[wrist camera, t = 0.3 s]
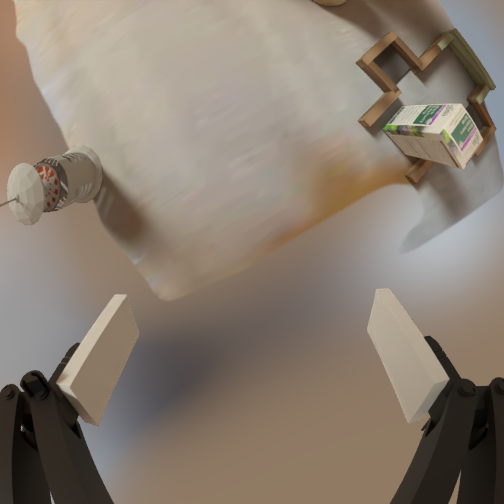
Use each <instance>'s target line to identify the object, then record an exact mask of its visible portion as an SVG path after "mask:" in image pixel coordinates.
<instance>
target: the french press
mask: <svg viewBox="0 0 504 504" xmlns="http://www.w3.org/2000/svg"><path fill="white" fill-rule="evenodd" d="M61 156H62V157H61ZM49 158H50V159H52V158H53V159H52V160H51V161H50V163H48V161H49V160H50V159H48V158H45V159H43V160H42V161H41V162H39V163H37V164H36V165H35V166H34V167H33V166H31V165H29V164H27V163H22V164H18V165H17V166H16V167H15V168H14V169H13V170H12V172H11V174H10V177H9V180H8V186H7V196H8V201H7V202H5V203H3V204H1V205H0V207H1V206H3V205H5V204H7V203H9V206H10V209H11V211H12V213H13V214H14V216H15V217H16V218H17V219H18V221H19V222H21V223H23V224H24V225H33V224H35V223H36V222H37V221H39V219H40V217H41V215H42V213H43V212H50V211H58V210H60V209H62V208H63V207H66V205H70V204H69V203H71V204H72V203H74V202H77V203H86V202H88V201H90V200H91V199H93V198H94V197H95V196H96V194H97V193H98V192H99V190H100V187H101V183H102V180H103V174H102V165H101V163H100V160H99V157H98V156H97V154H96V153H95V152H94V151H93V150H92V149H91V148H88V147H86V146H83V145H81V146H75V147H73V148H71V149H70V150H69V151H67V152H66V154H64V155H59V156H54V157H49ZM47 159H48V160H47ZM54 159H55V162H54V163H53V166H52V165H51V164H52V162H53V160H54ZM45 160H47V161H46V162H44V161H45ZM57 161H58V165H57V166H56V162H57ZM55 166H56V167H55ZM62 197H65V198H66V201H65V200H64V199H63V198H62ZM60 199H61V201H63V202H64V204H62V203H60V202H59V200H60ZM73 201H74V202H73ZM57 204H59V205H62V207H59V206H57ZM55 208H60V209H55Z"/></svg>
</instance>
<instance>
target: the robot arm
mask: <svg viewBox="0 0 504 504" xmlns="http://www.w3.org/2000/svg"><path fill="white" fill-rule="evenodd" d="M367 331H368V333H369V335H370V337H371V339H372V341H373V344H374V346H375V348H376V350H377V352H378V354H379V356H380V359H381V361H382V363H383V365H384V367H385V370H386V372H387V374H388V376H389V379H390V381H391V383H392V386H393V388H394V390H395V392H396V395H397V397H398V400H399V402H400V404H401V407H402V410H403V412H404V414H405V417H406V419H407V422H408V423H412V422H415V421H418V420H421V419H423V418H424V416H425V415H426V413H427V412H429V414H430V419H429V420H428V421H427V423H426V424H425V425H424V426H423V428H422V429H421V430H422V431H423V430H424V429H425V431H424V433H423V436H422V439H421V441H420V444H419V446H418V449H417V451H416V453H415V456H414V458H413V460H412V462H411V464H410V466H409V468H408V471H407V473H406V475H405V477H404V479H403V481H402V483H401V484H400V486H399V488H398V490H397V492H396V494H395V496H394V497H393V499H392V501H391V502H390V504H448V503H449V501H450V498H451V496H452V493H453V491H454V488H455V485H456V482H457V479H458V477H459V474H460V471H461V477H460V485H459V492H458V498H457V504H504V379H503V378H500V377H498V378H495V379H493V380H492V381H491V383H490V384H489V386H476V385H475V384H474V383H473V382H472V381H470V380H468V379H461V377H460V376H459V374H458V373H457V371H456V369H455V368H454V366H453V365H452V363H451V362H450V360H449V359H448V357H446V354H445V353H444V351H442V348H441V347H440V345H439V344H438V342H437V341H436V340H434V339H433V338H432V337H430V336H425V337H423V336H422V334H421V333H420V331H419V330H418V328H417V327H416V325H415V324H414V323H413V321H412V320H411V318H410V317H409V315H408V314H407V312H406V311H405V309H404V308H403V307H402V306H401V304H400V303H399V301H398V300H397V298H396V297H395V296H394V294H393V293H392V292H391V290H390V289H389V288H383V289H376V294H375V298H374V302H373V307H372V311H371V315H370V320H369V323H368V327H367ZM138 336H139V331H138V328H137V325H136V322H135V319H134V316H133V313H132V309H131V306H130V303H129V299H128V296H127V295H120V294H115V296H114V297H113V298H112V300H111V301H110V302H109V304H108V305H107V306H106V308H105V309H104V311H103V312H102V313H101V315H100V316H99V317H98V319H97V320H96V322H95V323H94V325H93V326H92V328H91V329H90V330H89V332H88V333H87V335H86V336H85V338H84V339H83V341H82V342H81V343H76V344H75V345H73V346H72V347H71V348H70V349H69V350H68V352H67V353H66V355H65V358H63V359H62V361H61V363H60V364H59V365H58V367H57V368H56V370H55V372H54V373H53V375H52V377H51V378H50V380H49V381H48V382H47V380H46V378H45V377H44V375H43V374H42V373H41V372H40V371H36V370H34V371H30V372H28V373H27V374H25V375H24V376H23V378H22V379H21V382H20V386H21V387H22V389H23V390H24V391H25V392H21V391H20V390H19V388H18V387H17V386H16V385H14V384H9V385H6V386H5V387H4V388H3V389H2V390H1V392H0V504H52V503H51V496H50V492H51V495H52V497H53V500H54V503H55V504H114V503H113V501H112V499H111V498H110V495H109V493H108V491H107V489H106V487H105V485H104V483H103V481H102V479H101V477H100V475H99V473H98V471H97V468H96V466H95V464H94V461H93V459H92V457H91V454H90V452H89V449H88V447H87V444H86V441H85V438H84V436H83V433H82V430H81V427H80V424H79V423H78V421H77V418H78V416H79V415H80V416H81V418H82V419H83V420H84V421H85V422H87V423H90V424H93V425H97V426H98V425H99V423H100V420H101V418H102V416H103V413H104V411H105V408H106V406H107V404H108V401H109V399H110V397H111V394H112V392H113V390H114V387H115V385H116V383H117V381H118V379H119V376H120V374H121V372H122V370H123V368H124V366H125V363H126V361H127V359H128V357H129V355H130V353H131V351H132V349H133V346H134V344H135V342H136V340H137V338H138ZM21 426H22V427H23V430H22V431H21Z"/></svg>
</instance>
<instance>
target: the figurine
mask: <svg viewBox="0 0 504 504" xmlns="http://www.w3.org/2000/svg"><path fill="white" fill-rule="evenodd" d="M313 1H314V2H316V3H318V4H321V5H324V6H338V5H341V4H343V3H345V2H346V1H347V0H313Z"/></svg>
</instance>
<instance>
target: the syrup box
mask: <svg viewBox="0 0 504 504" xmlns="http://www.w3.org/2000/svg"><path fill="white" fill-rule="evenodd" d="M383 130H384V131H385V133H386V134H387V135H388V136H389V137H390V138H391V139H392V140H393V141H394V142H395V143H396V145H397V146H398V147H399V148H400V149H401V150H402V151H403V153H404V154H405V155H409V156H414V157H418V158H422V159H426V160H430V161H434V162H438V163H441V164H445V165H449V166H452V167H455V168H459V169H462V170H464V168H465V167H466V164H467V163H468V162H469V160H470V159H471V158H472V157H473V155H474V154H475V152H476V151H477V149H478V147H479V146H480V144H481V143H482V141H483V138H482V136H481V134H480V132H479V130H478V128H477V127H476V125H475V123H474V121H473V120H472V118H471V117H470V115H469V114H468V112H467V111H466V109H465V108H464V107H463V106H462V104H432V105H415V106H403V107H401V108H400V109H399V110H398V111H397V113H396V114H395V115H394V116H393V117H392V118H391V119H390V121H389V122H388V123H387V124H386V126H385V127H384V128H383Z"/></svg>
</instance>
